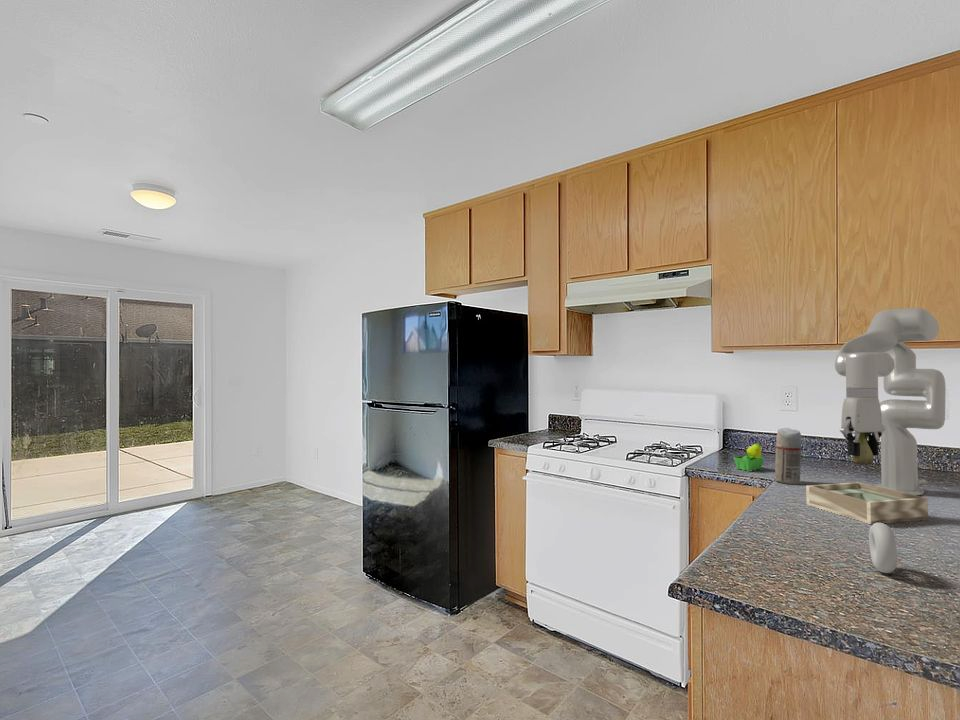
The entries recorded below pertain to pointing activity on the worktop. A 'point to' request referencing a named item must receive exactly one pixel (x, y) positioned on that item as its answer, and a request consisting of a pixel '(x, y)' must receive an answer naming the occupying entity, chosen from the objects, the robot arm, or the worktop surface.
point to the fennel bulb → (863, 451)
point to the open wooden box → (867, 502)
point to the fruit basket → (750, 459)
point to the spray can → (788, 456)
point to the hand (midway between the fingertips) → (863, 454)
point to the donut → (882, 547)
